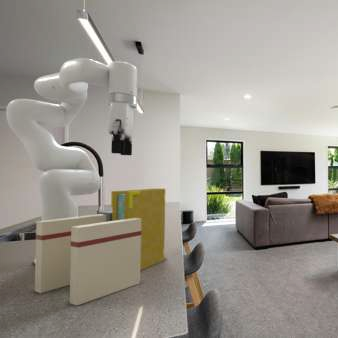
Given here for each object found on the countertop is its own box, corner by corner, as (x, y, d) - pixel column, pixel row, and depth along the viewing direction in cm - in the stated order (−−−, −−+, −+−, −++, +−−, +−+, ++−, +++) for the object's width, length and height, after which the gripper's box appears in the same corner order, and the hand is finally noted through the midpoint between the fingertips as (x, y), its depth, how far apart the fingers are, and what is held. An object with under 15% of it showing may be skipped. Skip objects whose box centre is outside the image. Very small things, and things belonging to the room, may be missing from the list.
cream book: (34, 291, 74) (35, 221, 74) (99, 272, 88) (100, 213, 88) (40, 293, 73) (42, 222, 73) (105, 274, 87) (106, 214, 87)
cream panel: (69, 303, 68) (70, 226, 68) (133, 281, 81) (134, 217, 82) (76, 305, 66) (78, 227, 67) (140, 283, 80) (141, 218, 80)
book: (128, 275, 86) (130, 191, 86) (109, 273, 87) (111, 191, 88) (168, 258, 102) (170, 188, 103) (152, 257, 104) (153, 188, 104)
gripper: (117, 106, 100) (116, 155, 100) (99, 93, 84) (98, 152, 84) (142, 108, 103) (141, 156, 102) (130, 96, 87) (129, 153, 86)
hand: (122, 154), depth 93 cm, fingers open, 9 cm apart
